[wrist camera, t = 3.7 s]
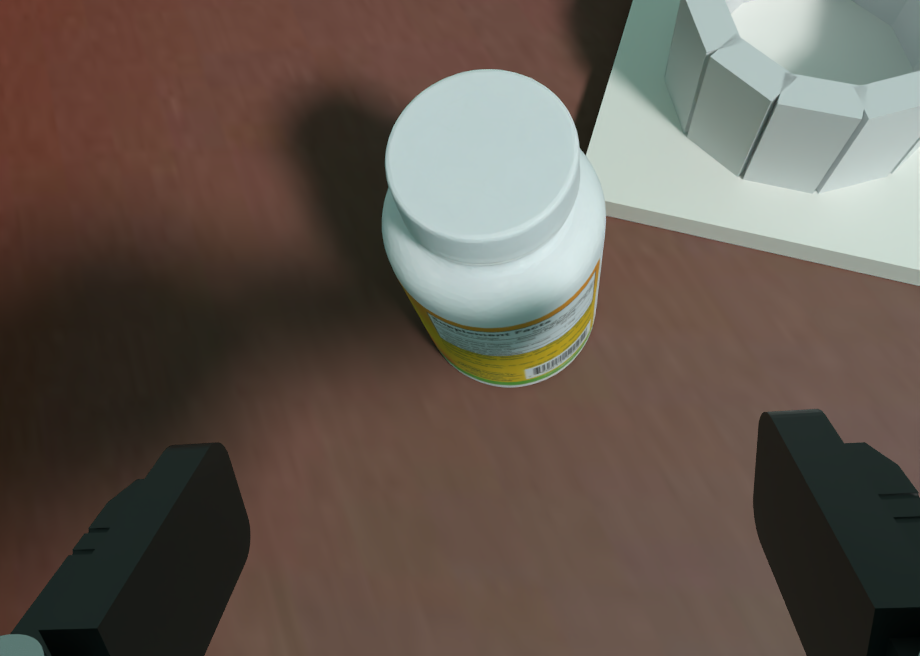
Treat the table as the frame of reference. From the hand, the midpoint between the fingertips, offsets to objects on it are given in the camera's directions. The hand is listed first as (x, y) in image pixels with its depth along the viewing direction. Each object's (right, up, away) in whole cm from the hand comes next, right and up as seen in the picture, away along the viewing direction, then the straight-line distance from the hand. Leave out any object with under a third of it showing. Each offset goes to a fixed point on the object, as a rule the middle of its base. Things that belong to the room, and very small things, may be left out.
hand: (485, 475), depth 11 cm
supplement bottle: (+1, +3, +13) cm, 13 cm away
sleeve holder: (+11, +10, +14) cm, 20 cm away
